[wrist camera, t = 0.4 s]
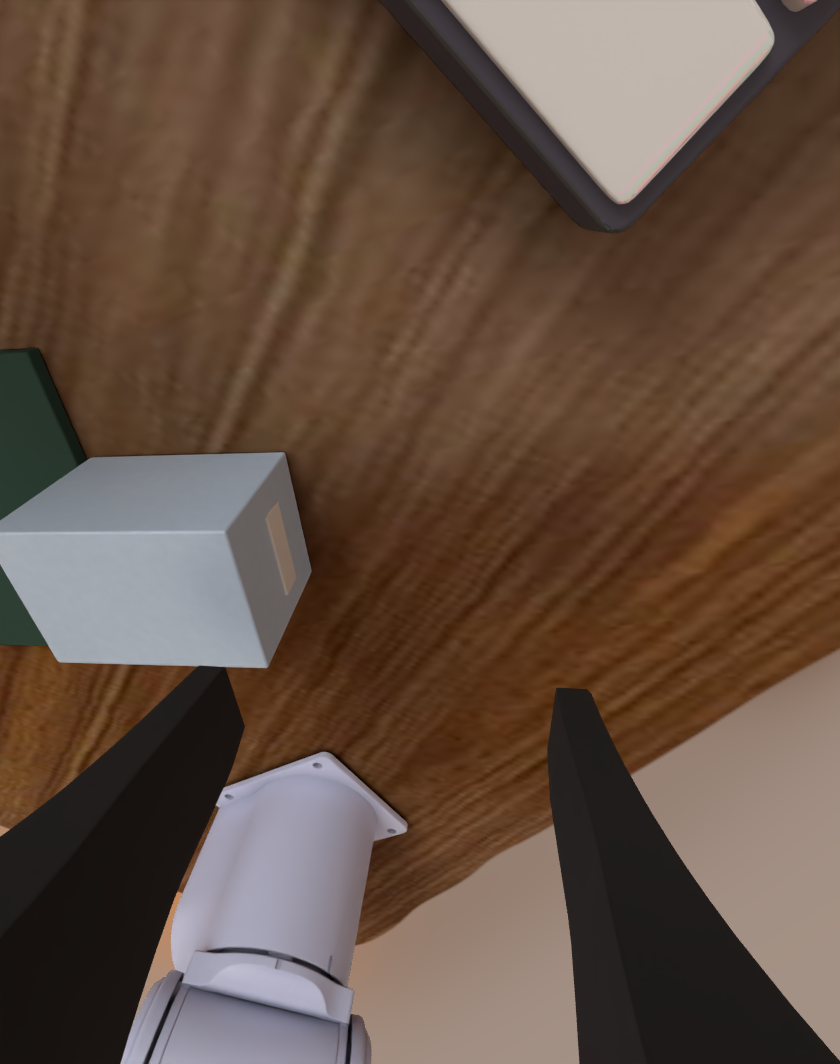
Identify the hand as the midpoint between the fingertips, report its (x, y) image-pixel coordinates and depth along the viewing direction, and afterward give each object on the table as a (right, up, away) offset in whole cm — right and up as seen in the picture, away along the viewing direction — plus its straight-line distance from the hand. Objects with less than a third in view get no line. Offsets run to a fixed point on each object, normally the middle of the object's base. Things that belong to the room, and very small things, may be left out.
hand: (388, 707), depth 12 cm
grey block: (-8, +3, +8) cm, 12 cm away
